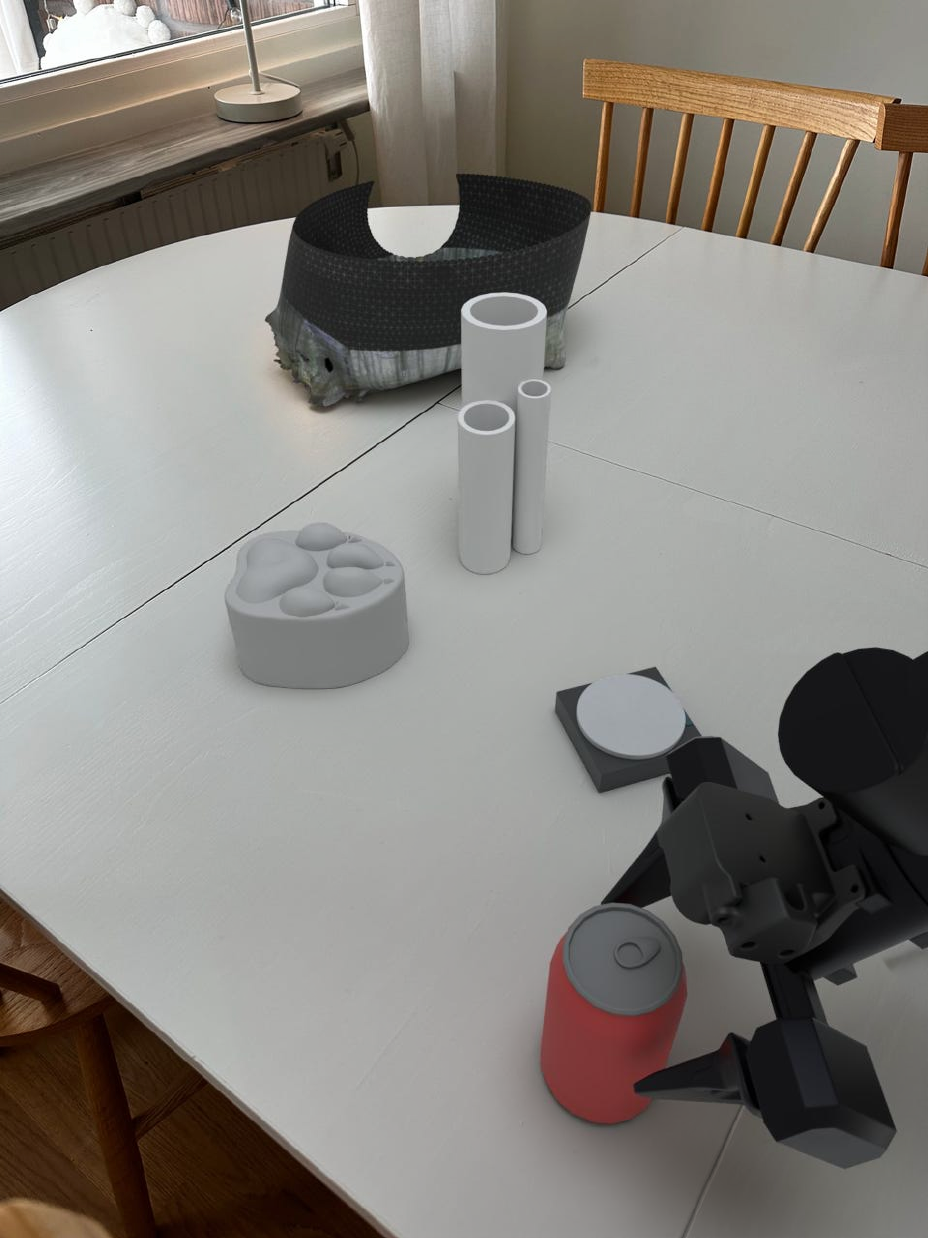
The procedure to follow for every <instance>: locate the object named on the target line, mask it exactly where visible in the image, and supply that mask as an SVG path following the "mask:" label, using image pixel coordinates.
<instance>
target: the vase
mask: <svg viewBox="0 0 928 1238" xmlns="http://www.w3.org/2000/svg"><path fill="white" fill-rule="evenodd" d="M546 319H547V310H546V308H545V305H543V304H542V303H541V302H540V301H539V300H536V299H534V298H532V297H530V296H526V295H521V294H516V293H490V294H485V295H480V296H478V297H475V298H473V299H470V300H469V301H468V302H466V303H465V304H464V305H463V307H462V309H461V349H462V368H461V409H459V412H458V414H457V456H458V457H457V460H458V461H457V465H458V467H457V468H458V469H457V471H458V473H457V474H458V475H457V477H458V545H459V546H458V552H459V553H458V554H459V561H460V563H461V564H462V566H463V567H464V568H465V569H467V570H468V571H469V572H472V573H474V574H480V575H493V574H495V573H498V572H500V571H502V570H503V569H505V568H506V567H507V565H508V564H509V563H510V560H511V554H512V553H511V552H512V548H513V549H514V551H516V552H518V553H519V554H522V555H533V554H536V553H537V552H538V551H540V549H541V548H542V539H543V526H544V525H543V524H544V507H545V494H546V493H545V492H546V491H545V490H546V478H547V477H546V475H547V462H548V461H547V460H548V445H549V430H550V427H549V426H550V411H551V396H552V388H551V385H550V384H549V383H548V382H546V381H545V380H544V373H545V372H544V370H545V367H544V355H545V337H546Z"/></svg>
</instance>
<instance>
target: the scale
mask: <svg viewBox="0 0 928 1238" xmlns="http://www.w3.org/2000/svg"><path fill="white" fill-rule="evenodd" d="M554 711H555V713H556V715H557V717H558V719H559V720H560V723H561V724H562V726H563V728H564V730H565V732H566V734H567V735H568V737H569V739H570V741H571V743H572V745H573V746H574V748H575V750H576V753H577V754H578V756H579V758H580V759H581V762H582V763H583V765H584V767H585V769H586V771H587V773H588V775H589V776H590V779H591V780H592V782H593V784H594V786H595V788H596V789H597V792H598V793H599V794H600V793H605V792H608V791H611V790H615V789H618V788H621V787H624V786H628V785H632V784H635V783H640V782H642V781H643V782H644V781H646V780H650V779H653V778H656V777H660V776H663V775H667V774H670V770H669V766H668V762H667V759H666V755H667V754H668V753H670V752H671V751H673V750H674V749H676V748H678V747H679V746H681V745H683V744H684V743H686V742H687V741H689V740H691V739H692V738H694V737H702V733H701V732H700V730H698V728H697V726H696V725H695V723H694V722H693V720H692V719H691V717H690V716H689V714H688V712H687V711H686V709H685V708H684V706H683V704H682V702H681V701H680V699H679V698H678V697H677V695H676V694H675V693H674V692H673V690H672V689H671V687H670V686H669V684H668V682H667V681H666V680H665V678H664V676H663V675H662V674H661V672H660V671H659V669H658V668H657V666H652V667H648V668H643V669H640V670H636V671H633V672H629V673H624V674H623V673H621V674H613V675H608V676H604V677H601V678H599V679H597V680H594V681H593V682H589V683H586V684H581V685H577V686H574V687H570V688H566V689H562V690H558V691H556V693H555V705H554Z"/></svg>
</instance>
